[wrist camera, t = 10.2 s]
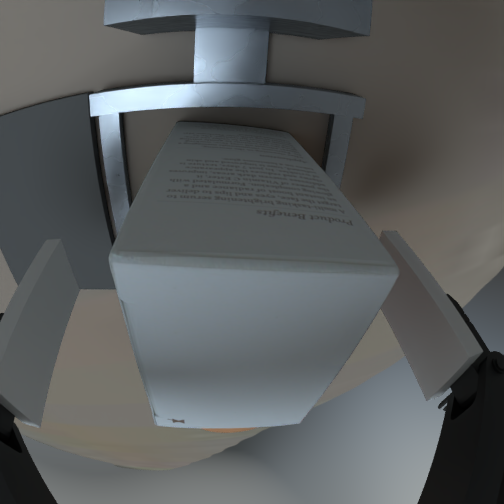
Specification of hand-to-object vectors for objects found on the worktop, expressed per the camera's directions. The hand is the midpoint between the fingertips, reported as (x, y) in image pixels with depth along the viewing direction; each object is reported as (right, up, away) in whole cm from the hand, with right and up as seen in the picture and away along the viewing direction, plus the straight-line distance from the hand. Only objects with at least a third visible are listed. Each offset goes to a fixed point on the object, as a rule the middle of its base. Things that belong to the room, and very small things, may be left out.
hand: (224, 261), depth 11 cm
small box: (0, +3, +4) cm, 5 cm away
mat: (-11, +3, +2) cm, 12 cm away
